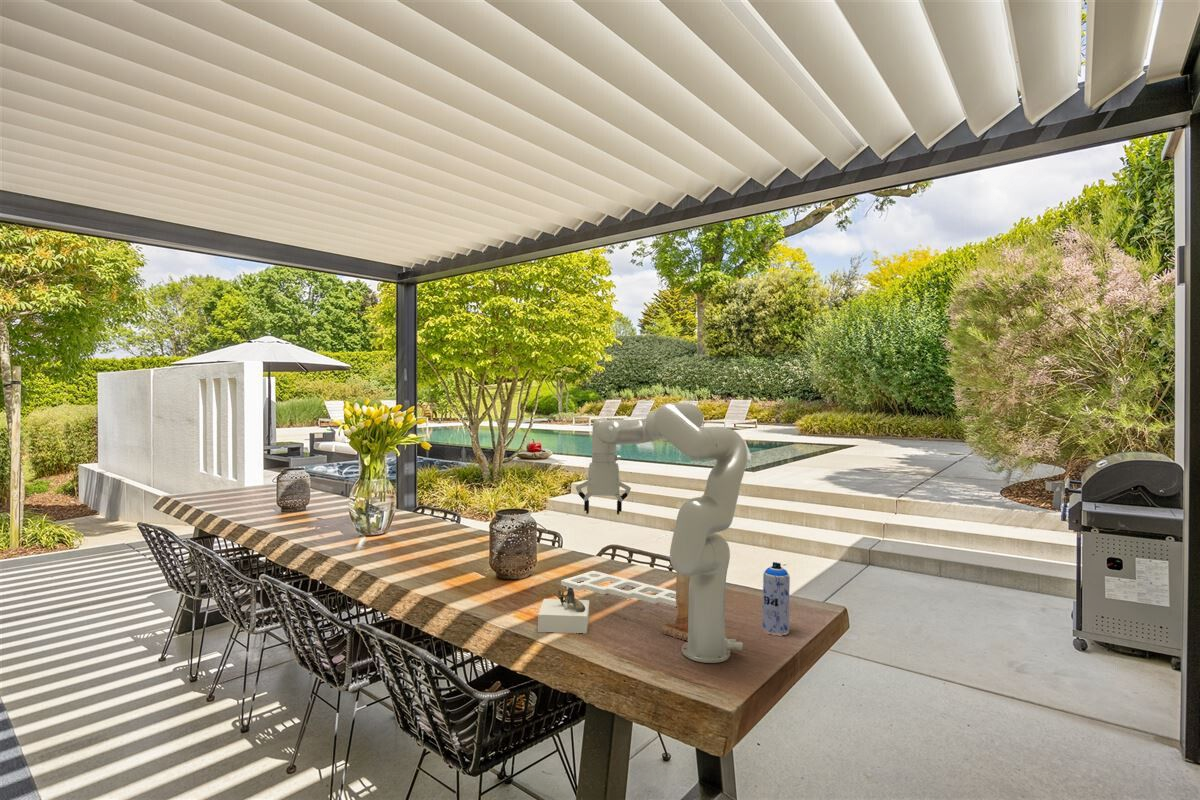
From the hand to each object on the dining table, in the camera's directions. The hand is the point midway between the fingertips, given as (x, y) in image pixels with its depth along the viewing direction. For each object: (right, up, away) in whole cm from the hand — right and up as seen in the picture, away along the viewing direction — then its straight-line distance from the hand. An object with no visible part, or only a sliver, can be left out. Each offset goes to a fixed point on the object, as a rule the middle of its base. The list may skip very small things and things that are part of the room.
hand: (602, 513), depth 190 cm
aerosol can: (+51, -32, -13) cm, 61 cm away
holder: (+8, -32, +18) cm, 38 cm away
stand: (-11, -31, -11) cm, 35 cm away
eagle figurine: (-10, -26, -12) cm, 30 cm away
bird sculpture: (+24, -32, -16) cm, 43 cm away
